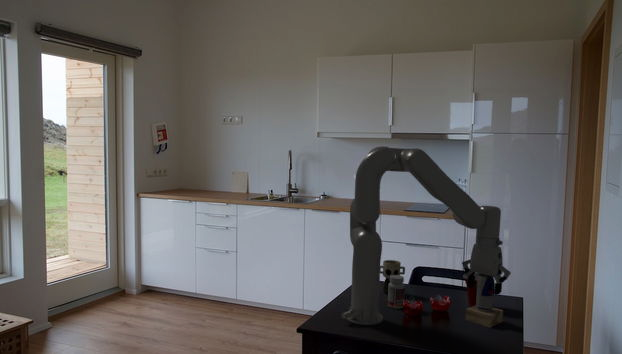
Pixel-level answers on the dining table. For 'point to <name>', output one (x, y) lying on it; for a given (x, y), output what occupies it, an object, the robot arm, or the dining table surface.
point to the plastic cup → (471, 290)
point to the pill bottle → (396, 291)
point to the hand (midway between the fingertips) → (483, 290)
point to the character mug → (390, 271)
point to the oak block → (484, 316)
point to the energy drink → (484, 293)
